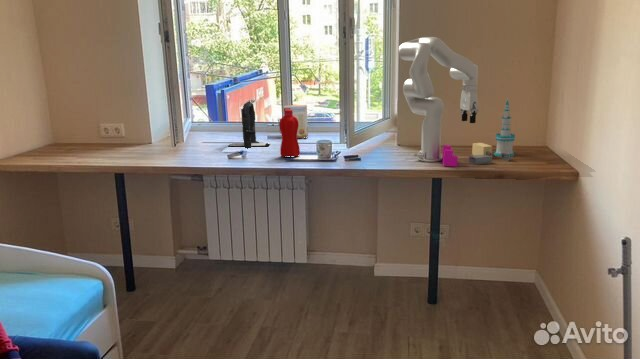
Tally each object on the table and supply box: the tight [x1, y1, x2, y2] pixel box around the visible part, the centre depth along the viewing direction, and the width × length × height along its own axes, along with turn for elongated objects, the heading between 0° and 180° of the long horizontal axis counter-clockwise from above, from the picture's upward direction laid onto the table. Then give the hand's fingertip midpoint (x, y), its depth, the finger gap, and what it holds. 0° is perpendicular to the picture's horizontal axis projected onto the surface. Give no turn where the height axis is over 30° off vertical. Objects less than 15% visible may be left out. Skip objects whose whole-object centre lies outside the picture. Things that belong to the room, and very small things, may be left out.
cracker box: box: [283, 104, 309, 138], centre depth 339 cm, size 14×6×21 cm, turn 82°
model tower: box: [493, 97, 516, 157], centre depth 276 cm, size 10×10×30 cm
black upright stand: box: [227, 98, 272, 152], centre depth 315 cm, size 32×25×28 cm
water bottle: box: [279, 110, 301, 158], centre depth 286 cm, size 9×11×25 cm
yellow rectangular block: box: [471, 142, 493, 158], centre depth 277 cm, size 5×12×6 cm, turn 17°
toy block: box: [441, 144, 459, 168], centre depth 263 cm, size 15×6×8 cm, turn 170°
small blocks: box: [468, 153, 512, 166], centre depth 265 cm, size 20×6×3 cm, turn 107°
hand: (468, 121), depth 287 cm, fingers open, 7 cm apart
